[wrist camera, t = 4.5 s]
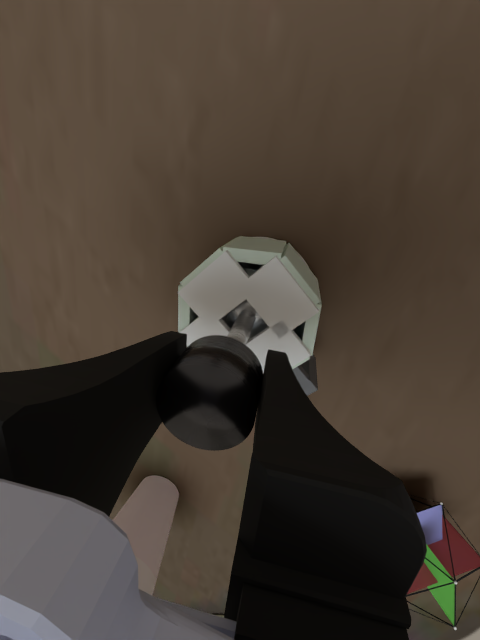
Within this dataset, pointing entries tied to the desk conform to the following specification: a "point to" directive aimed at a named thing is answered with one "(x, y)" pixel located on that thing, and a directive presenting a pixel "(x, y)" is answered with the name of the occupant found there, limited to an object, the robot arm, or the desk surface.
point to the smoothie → (149, 525)
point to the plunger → (215, 385)
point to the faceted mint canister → (257, 300)
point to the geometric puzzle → (443, 560)
